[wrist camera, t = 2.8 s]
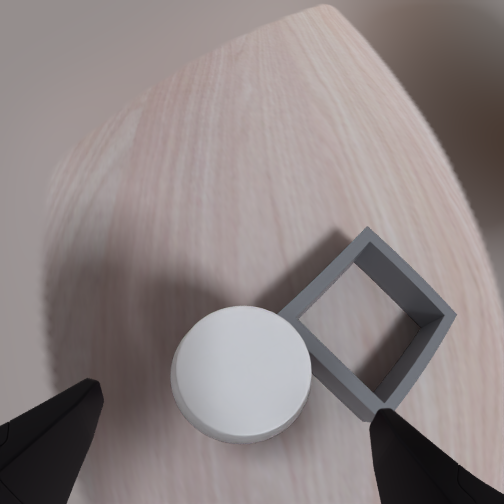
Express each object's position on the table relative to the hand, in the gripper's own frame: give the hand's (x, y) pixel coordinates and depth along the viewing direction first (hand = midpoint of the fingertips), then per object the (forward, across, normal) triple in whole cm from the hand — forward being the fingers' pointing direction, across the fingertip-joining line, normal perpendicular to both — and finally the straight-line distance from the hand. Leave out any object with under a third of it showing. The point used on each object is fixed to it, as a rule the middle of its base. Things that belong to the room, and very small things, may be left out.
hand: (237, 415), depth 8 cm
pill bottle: (+7, 0, +6) cm, 9 cm away
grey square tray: (+10, -8, +3) cm, 13 cm away
